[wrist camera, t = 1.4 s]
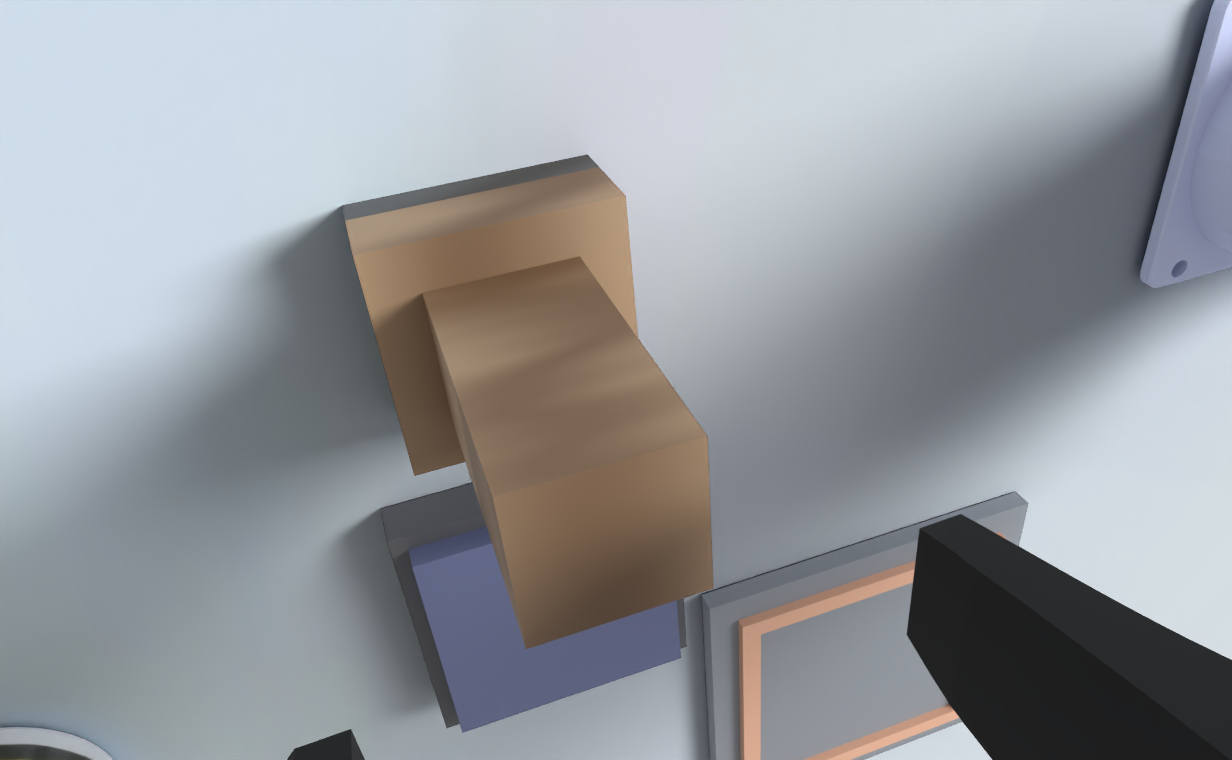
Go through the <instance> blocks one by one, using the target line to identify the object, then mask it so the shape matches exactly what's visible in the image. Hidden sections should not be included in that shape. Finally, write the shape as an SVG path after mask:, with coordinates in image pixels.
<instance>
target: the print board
mask: <svg viewBox="0 0 1232 760" xmlns="http://www.w3.org/2000/svg"><path fill="white" fill-rule="evenodd" d="M1027 507H1028V502H1027V501H1026V500H1024V499H1023V498H1022V497H1021V496H1020V495H1019V494H1018V493H1017V492H1013V493H1010V494H1007V495H1004V496H1001V497H998V498H995V499H992V500H989V501H986V502H983V503H980V504H976V505H973V506H970V507H967V508H964V509H961V510H958V511H955V512H952V513H949V514H946V515H943V516H940V517H937V518H934V519H931V520H928V521H925V522H922V523H919V524H916V525H912V526H909V527H906V528H903V529H900V530H897V531H894V532H891V533H888V534H885V535H882V536H879V537H876V538H873V539H870V540H867V541H864V542H861V543H858V544H855V545H852V546H848V547H845V548H842V549H839V550H836V551H833V552H830V553H827V554H824V555H821V556H818V557H815V558H812V559H809V560H806V561H803V562H800V563H797V564H794V565H791V566H788V567H784V568H781V569H778V570H775V571H772V572H769V573H766V574H763V575H760V576H757V577H754V578H751V579H748V580H745V581H742V582H739V583H736V584H733V585H730V586H727V587H724V588H720V589H717V590H714V591H711V592H708V593H705V594H702V612H703V632H704V652H705V672H706V692H707V712H708V732H709V752H710V760H864V759H867V758H870V757H872V756H875V755H877V754H880V753H883V752H885V751H888V750H890V749H893V748H895V747H898V746H901V745H903V744H906V743H908V742H911V741H914V740H916V739H919V738H921V737H924V736H926V735H929V734H932V733H934V732H937V731H939V730H942V729H945V728H947V727H950V726H952V725H955V724H957V723H960V722H963V721H962V720H961V719H960V718H959V716H958V715H957V714H956V712H955V711H954V710H953V709H952V707H951V706H950V704H949V703H948V701H947V700H946V698H945V697H944V695H943V693H942V692H941V690H940V689H939V687H938V686H937V684H936V682H935V681H934V679H933V678H932V676H931V675H930V673H929V671H928V670H927V668H926V666H925V665H924V663H923V661H922V660H921V658H920V656H919V655H918V653H917V651H916V650H915V648H914V646H913V645H912V643H911V641H910V640H909V638H908V636H907V627H908V619H909V610H910V602H911V594H912V586H913V577H914V569H915V561H916V553H917V544H918V536H919V528H922V527H925V526H928V525H930V524H933V523H936V522H939V521H942V520H945V519H947V518H950V517H953V516H956V515H959V514H962V515H964V516H966V517H967V518H969V519H971V520H973V521H975V522H977V523H978V524H980V525H982V526H984V527H986V528H987V529H989V530H991V531H993V532H994V533H996V534H998V535H1000V536H1001V537H1003V538H1005V539H1007V540H1008V541H1010V542H1012V543H1014V544H1015V545H1017V546H1019V542H1020V538H1021V534H1022V529H1023V525H1024V520H1025V516H1026V512H1027Z"/></svg>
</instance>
